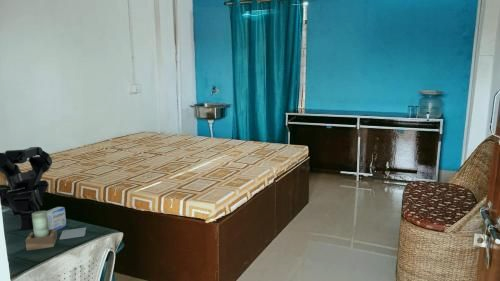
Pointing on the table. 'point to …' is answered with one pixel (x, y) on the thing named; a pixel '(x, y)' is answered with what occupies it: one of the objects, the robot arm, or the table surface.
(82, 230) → the slate pad
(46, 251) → the table surface
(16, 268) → the table surface
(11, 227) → the table surface
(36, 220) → the pale green cylinder
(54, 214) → the medicine box
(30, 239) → the pocket frame
